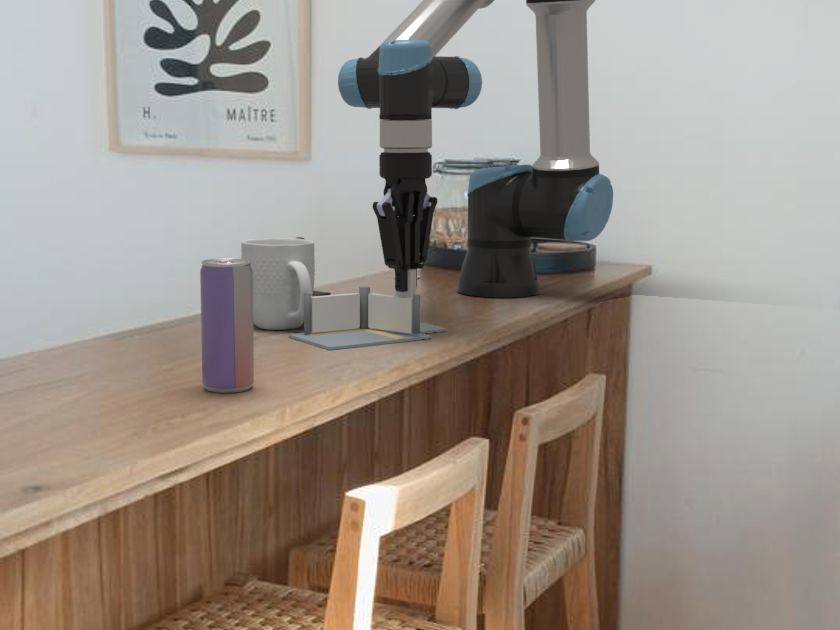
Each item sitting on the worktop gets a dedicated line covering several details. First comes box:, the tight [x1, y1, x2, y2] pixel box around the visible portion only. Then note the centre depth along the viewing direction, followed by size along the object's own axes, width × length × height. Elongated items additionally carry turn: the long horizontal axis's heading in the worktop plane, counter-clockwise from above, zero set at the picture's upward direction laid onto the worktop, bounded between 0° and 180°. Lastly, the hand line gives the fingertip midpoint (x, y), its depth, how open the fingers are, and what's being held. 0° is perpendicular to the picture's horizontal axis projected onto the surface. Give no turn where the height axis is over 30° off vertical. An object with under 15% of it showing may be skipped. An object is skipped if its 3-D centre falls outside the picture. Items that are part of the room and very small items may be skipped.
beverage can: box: [199, 257, 255, 394], centre depth 140 cm, size 6×6×15 cm
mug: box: [240, 237, 316, 331], centre depth 181 cm, size 15×11×13 cm
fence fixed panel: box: [303, 286, 371, 335], centre depth 177 cm, size 11×2×7 cm, turn 124°
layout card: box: [288, 321, 448, 351], centre depth 177 cm, size 22×12×1 cm, turn 124°
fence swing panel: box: [368, 292, 421, 334], centre depth 177 cm, size 9×1×6 cm, turn 53°
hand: (406, 312), depth 177 cm, fingers closed
